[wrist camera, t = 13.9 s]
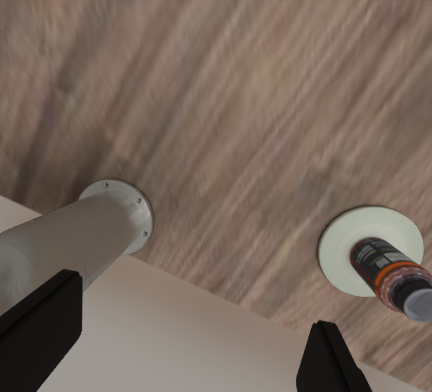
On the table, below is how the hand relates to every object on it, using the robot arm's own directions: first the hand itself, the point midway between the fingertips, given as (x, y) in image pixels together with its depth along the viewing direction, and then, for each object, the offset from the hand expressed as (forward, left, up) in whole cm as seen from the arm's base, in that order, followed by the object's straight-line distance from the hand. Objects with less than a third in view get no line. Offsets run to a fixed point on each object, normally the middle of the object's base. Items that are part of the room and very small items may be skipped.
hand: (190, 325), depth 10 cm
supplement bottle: (+11, -20, -27) cm, 35 cm away
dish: (+11, -20, -28) cm, 36 cm away
